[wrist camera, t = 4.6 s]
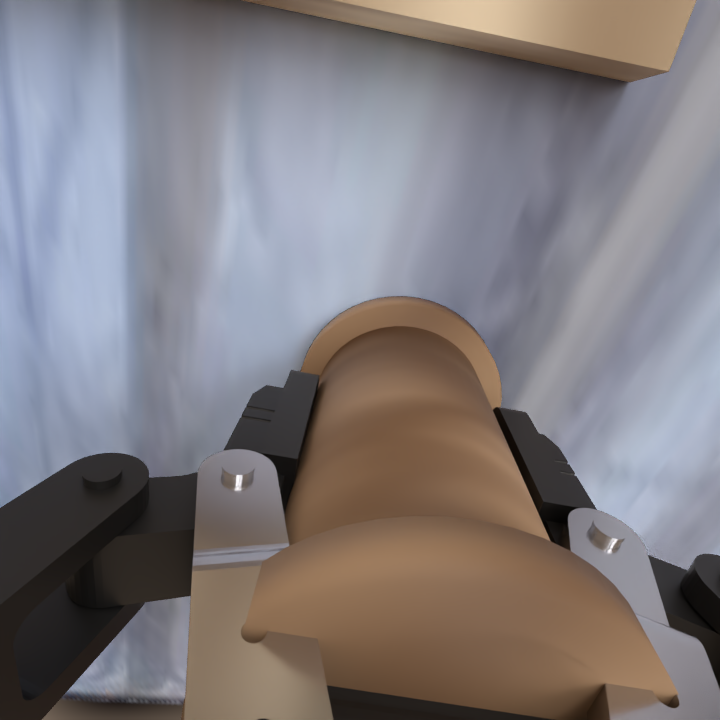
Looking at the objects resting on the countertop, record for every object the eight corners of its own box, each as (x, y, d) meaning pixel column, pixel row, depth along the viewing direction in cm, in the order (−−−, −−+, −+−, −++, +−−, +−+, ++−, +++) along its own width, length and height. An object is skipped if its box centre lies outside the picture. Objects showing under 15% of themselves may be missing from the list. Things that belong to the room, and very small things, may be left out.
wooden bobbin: (521, 317, 13) (793, 632, 4) (465, 482, 15) (572, 894, 7) (314, 278, 12) (187, 533, 4) (289, 451, 15) (176, 839, 6)
